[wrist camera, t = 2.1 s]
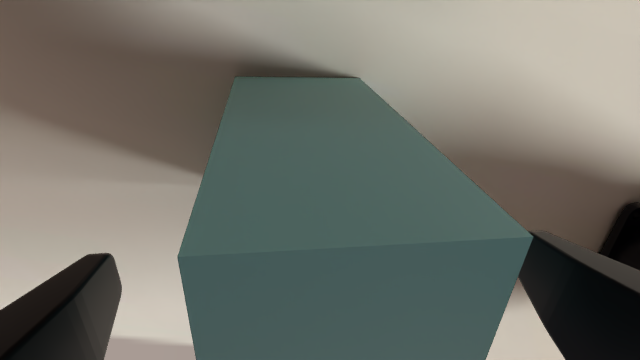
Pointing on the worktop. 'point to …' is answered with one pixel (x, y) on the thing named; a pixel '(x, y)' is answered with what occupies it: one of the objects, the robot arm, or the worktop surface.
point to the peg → (340, 234)
